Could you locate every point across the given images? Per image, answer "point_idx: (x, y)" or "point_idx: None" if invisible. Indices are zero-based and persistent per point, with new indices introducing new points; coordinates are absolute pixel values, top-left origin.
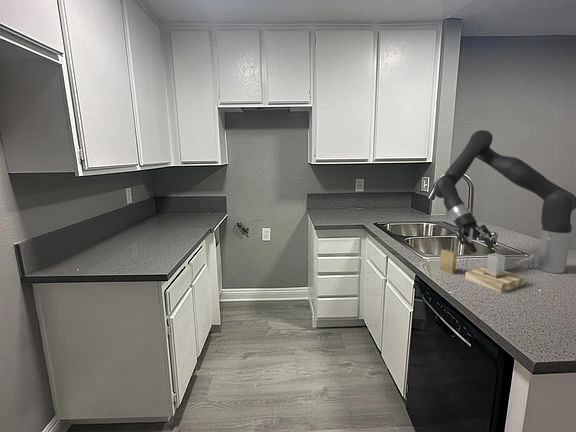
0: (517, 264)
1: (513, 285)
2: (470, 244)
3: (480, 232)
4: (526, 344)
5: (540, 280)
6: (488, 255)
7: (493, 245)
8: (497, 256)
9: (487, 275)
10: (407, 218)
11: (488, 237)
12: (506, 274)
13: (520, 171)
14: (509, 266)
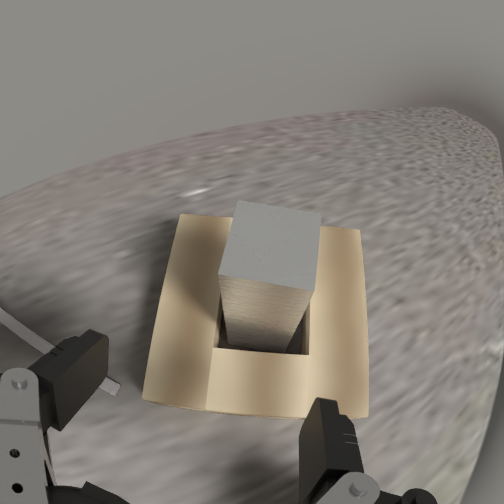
0: (5, 312)
1: None
2: (351, 468)
3: (43, 482)
4: (484, 142)
5: (87, 224)
6: (314, 289)
7: (86, 332)
8: (303, 223)
9: (312, 321)
10: None
11: (26, 378)
12: (206, 275)
13: None
14: (37, 335)
